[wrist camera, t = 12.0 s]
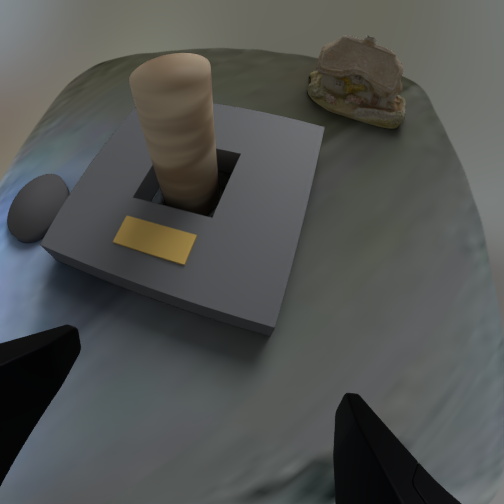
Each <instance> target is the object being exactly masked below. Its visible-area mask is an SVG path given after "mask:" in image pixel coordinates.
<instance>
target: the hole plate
mask: <svg viewBox="0 0 504 504" xmlns="http://www.w3.org/2000/svg"><path fill="white" fill-rule="evenodd" d="M213 116H214V130H215V143H216V156H217V169H218V171H222V172H226V173H231V174H232V175H231V177H230V179H229V181H228V183H227V186H226V188H225V190H224V192H223V195H222V197H221V199H220V201H219V204H218V206H217V208H216V211H215V213H214V215H213V217H212V218H211V217H207V216H203V215H199V214H195V213H192V212H188V211H184V210H180V209H176V208H172V207H168V206H164V205H161V204H157V203H153V202H151V200H152V198H153V196H154V195H155V193H156V191H157V189H158V188H159V186H160V185H159V182H158V179H157V176H156V173H155V170H154V167H153V163H152V160H151V157H150V154H149V150H148V147H147V144H146V140H145V137H144V134H143V130H142V127H141V123H140V120H139V116H138V112H137V109H136V107H135V108H134V109H133V110H132V111H131V113H130V114H129V115H128V116H127V117H126V119H125V120H124V121H123V122H122V123H121V125H120V126H119V127H118V128H117V129H116V131H115V132H114V133H113V134H112V136H111V137H110V138H109V139H108V141H107V142H106V143H105V145H104V146H103V147H102V149H101V150H100V151H99V153H98V154H97V155H96V157H95V158H94V159H93V161H92V162H91V164H90V165H89V166H88V168H87V169H86V171H85V172H84V173H83V175H82V176H81V178H80V179H79V181H78V182H77V184H76V185H75V187H74V188H73V190H72V191H71V193H70V194H69V196H68V198H67V199H66V201H65V202H64V204H63V206H62V207H61V209H60V211H59V212H58V214H57V215H56V217H55V219H54V221H53V222H52V224H51V226H50V228H49V229H48V231H47V233H46V235H45V236H44V238H43V240H42V242H41V244H40V245H41V246H42V247H43V248H44V249H45V250H46V251H47V252H48V253H49V254H50V255H51V256H53V257H54V258H55V259H56V260H57V261H60V262H62V263H64V264H67V265H69V266H71V267H74V268H76V269H78V270H81V271H83V272H85V273H88V274H90V275H93V276H95V277H98V278H100V279H103V280H105V281H108V282H110V283H113V284H115V285H118V286H120V287H123V288H126V289H128V290H131V291H133V292H136V293H139V294H141V295H144V296H147V297H150V298H152V299H155V300H158V301H161V302H164V303H166V304H169V305H172V306H175V307H178V308H181V309H184V310H187V311H190V312H193V313H196V314H199V315H202V316H205V317H208V318H211V319H214V320H217V321H220V322H224V323H227V324H230V325H233V326H237V327H240V328H243V329H247V330H250V331H253V332H257V333H260V334H264V335H267V336H271V334H272V332H273V330H274V328H275V325H276V322H277V318H278V315H279V311H280V308H281V304H282V300H283V297H284V293H285V289H286V286H287V282H288V278H289V274H290V271H291V267H292V263H293V259H294V255H295V251H296V247H297V244H298V240H299V236H300V232H301V228H302V224H303V220H304V215H305V211H306V207H307V203H308V199H309V195H310V190H311V186H312V182H313V177H314V173H315V169H316V164H317V160H318V155H319V151H320V146H321V142H322V137H323V132H324V127H322V126H318V125H314V124H310V123H307V122H303V121H299V120H295V119H291V118H286V117H282V116H278V115H273V114H269V113H264V112H259V111H254V110H249V109H244V108H238V107H233V106H227V105H221V104H214V103H213Z"/></svg>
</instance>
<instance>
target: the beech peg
mask: <svg viewBox="0 0 504 504" xmlns="http://www.w3.org/2000/svg"><path fill="white" fill-rule="evenodd" d="M129 82H130V86H131V90H132V94H133V98H134V101H135V105H136V109H137V112H138V116H139V120H140V123H141V127H142V130H143V134H144V137H145V140H146V144H147V147H148V150H149V154H150V157H151V160H152V163H153V167H154V170H155V173H156V176H157V179H158V182H159V185H160V188H161V192H162V195H163V198H164V201H165V204H166V206H168V207H172V208H176V209H180V210H184V211H188V212H192V213H195V214H199V215H203V216H205V215H206V214H208V213H209V212H211V211H212V210H213V209H214V208H215V206H216V205H217V203H218V201H219V196H220V193H219V181H218V169H217V156H216V143H215V130H214V116H213V101H212V85H211V68H210V63H209V61H208V60H207V59H206V58H204V57H202V56H200V55H196V54H190V53H176V54H169V55H164V56H160V57H157V58H154V59H152V60H149V61H147V62H145V63H144V64H142V65H140V66H139V67H138V68H136V69H135V70H134V71H133V73H132V74H131V76H130V78H129Z"/></svg>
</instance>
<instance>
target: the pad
mask: <svg viewBox="0 0 504 504" xmlns="http://www.w3.org/2000/svg"><path fill="white" fill-rule="evenodd" d="M68 196H69V189H68V187H67V185H66V184H65V182H64V181H63V179H62V178H61V177H60V176H58V175H55V174H46V175H42V176H39V177H37V178H35V179H33V180H32V181H30V182H29V183H28V184H26V185H25V186H24V187H23V188H22V189H21V190H20V192H19V193H18V194H17V196H16V197H15V199H14V200H13V202H12V204H11V206H10V209H9V213H8V219H7V223H8V228H9V231H10V232H11V234H12V235H13V236H15V237H16V238H17V239H18V240H19V241H21V242H24V243H32V242H36V241H38V240H40V239H42V238H44V236H45V235H46V233H47V231H48V229H49V228H50V226H51V224H52V222H53V221H54V219H55V217H56V215H57V214H58V212H59V211H60V209H61V207H62V206H63V204H64V202H65V201H66V199H67V198H68Z"/></svg>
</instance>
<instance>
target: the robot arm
mask: <svg viewBox="0 0 504 504" xmlns="http://www.w3.org/2000/svg"><path fill="white" fill-rule="evenodd" d="M80 350H81V344H80V338H79V332H78V329H77V328H76V327H73V326H71V325H63V326H60V327H57V328H53V329H50V330H46V331H43V332H39V333H36V334H32V335H29V336H25V337H22V338H18V339H15V340H11V341H8V342H4V343H1V344H0V486H1V484H2V482H3V480H4V478H5V477H6V475H7V473H8V471H9V470H10V467H11V466H12V464H13V462H14V460H15V459H16V457H17V455H18V454H19V452H20V450H21V449H22V447H23V445H24V444H25V442H26V440H27V439H28V437H29V435H30V434H31V432H32V431H33V429H34V427H35V426H36V424H37V423H38V421H39V419H40V418H41V416H42V415H43V413H44V412H45V410H46V409H47V407H48V406H49V404H50V403H51V401H52V400H53V398H54V397H55V395H56V394H57V392H58V391H59V389H60V388H61V386H62V384H63V383H64V381H65V379H66V377H67V375H68V374H69V372H70V370H71V368H72V366H73V364H74V362H75V361H76V359H77V357H78V355H79V353H80ZM333 462H334V480H335V503H336V504H461V503H460V502H459V501H458V500H457V499H455V498H454V497H453V496H452V495H451V494H450V493H449V492H447V491H446V490H445V489H444V488H443V487H442V486H441V485H440V484H439V483H438V482H437V481H435V480H434V479H433V477H432V476H431V475H430V474H429V473H428V472H427V471H426V470H425V469H424V468H423V467H422V466H421V464H420V463H418V461H417V460H416V459H415V458H414V457H413V456H412V454H411V453H410V452H409V451H408V450H407V449H406V448H405V447H404V445H403V444H402V443H401V442H400V441H399V440H398V439H397V438H396V436H395V435H394V434H393V433H392V432H391V431H390V430H389V428H388V427H387V426H386V425H385V424H384V423H383V422H382V420H381V419H380V418H379V417H378V416H377V415H376V414H375V412H374V411H373V410H372V409H371V408H370V407H369V406H368V404H367V403H366V402H365V401H364V400H363V399H362V398H361V396H360V395H359V394H355V393H346V394H345V395H344V396H343V398H342V400H341V402H340V404H339V406H338V408H337V411H336V414H335V432H334V450H333Z"/></svg>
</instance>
